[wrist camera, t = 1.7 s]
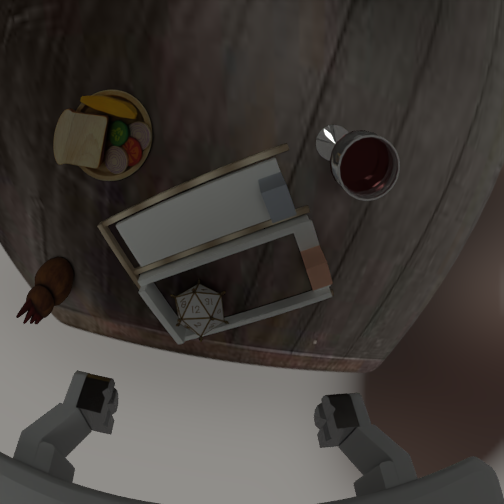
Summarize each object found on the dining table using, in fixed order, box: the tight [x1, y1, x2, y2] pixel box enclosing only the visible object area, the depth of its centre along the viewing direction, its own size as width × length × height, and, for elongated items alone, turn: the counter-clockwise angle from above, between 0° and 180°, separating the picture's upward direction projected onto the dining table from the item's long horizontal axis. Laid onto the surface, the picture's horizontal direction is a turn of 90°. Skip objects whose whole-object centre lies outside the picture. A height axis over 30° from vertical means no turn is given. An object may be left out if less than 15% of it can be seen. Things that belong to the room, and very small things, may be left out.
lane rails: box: [98, 143, 334, 296], centre depth 44 cm, size 29×26×1 cm
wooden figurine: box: [16, 257, 74, 324], centre depth 38 cm, size 7×6×15 cm
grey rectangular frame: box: [137, 214, 333, 344], centre depth 45 cm, size 27×14×5 cm, turn 111°
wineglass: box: [316, 125, 400, 201], centre depth 31 cm, size 7×7×12 cm
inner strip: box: [116, 157, 297, 267], centre depth 38 cm, size 24×8×6 cm, turn 111°
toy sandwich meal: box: [54, 90, 152, 181], centre depth 32 cm, size 12×14×5 cm
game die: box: [171, 279, 229, 342], centre depth 45 cm, size 9×8×10 cm
